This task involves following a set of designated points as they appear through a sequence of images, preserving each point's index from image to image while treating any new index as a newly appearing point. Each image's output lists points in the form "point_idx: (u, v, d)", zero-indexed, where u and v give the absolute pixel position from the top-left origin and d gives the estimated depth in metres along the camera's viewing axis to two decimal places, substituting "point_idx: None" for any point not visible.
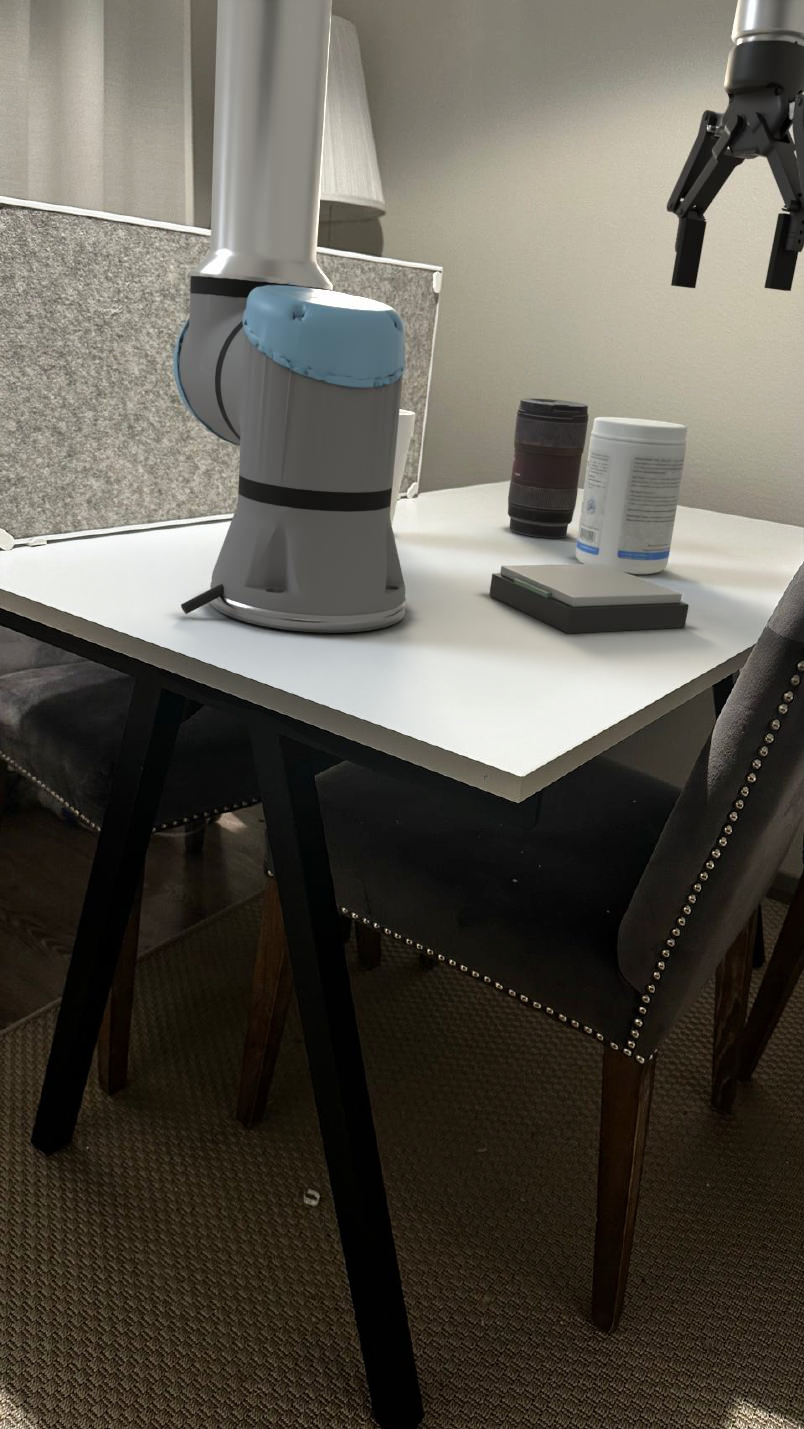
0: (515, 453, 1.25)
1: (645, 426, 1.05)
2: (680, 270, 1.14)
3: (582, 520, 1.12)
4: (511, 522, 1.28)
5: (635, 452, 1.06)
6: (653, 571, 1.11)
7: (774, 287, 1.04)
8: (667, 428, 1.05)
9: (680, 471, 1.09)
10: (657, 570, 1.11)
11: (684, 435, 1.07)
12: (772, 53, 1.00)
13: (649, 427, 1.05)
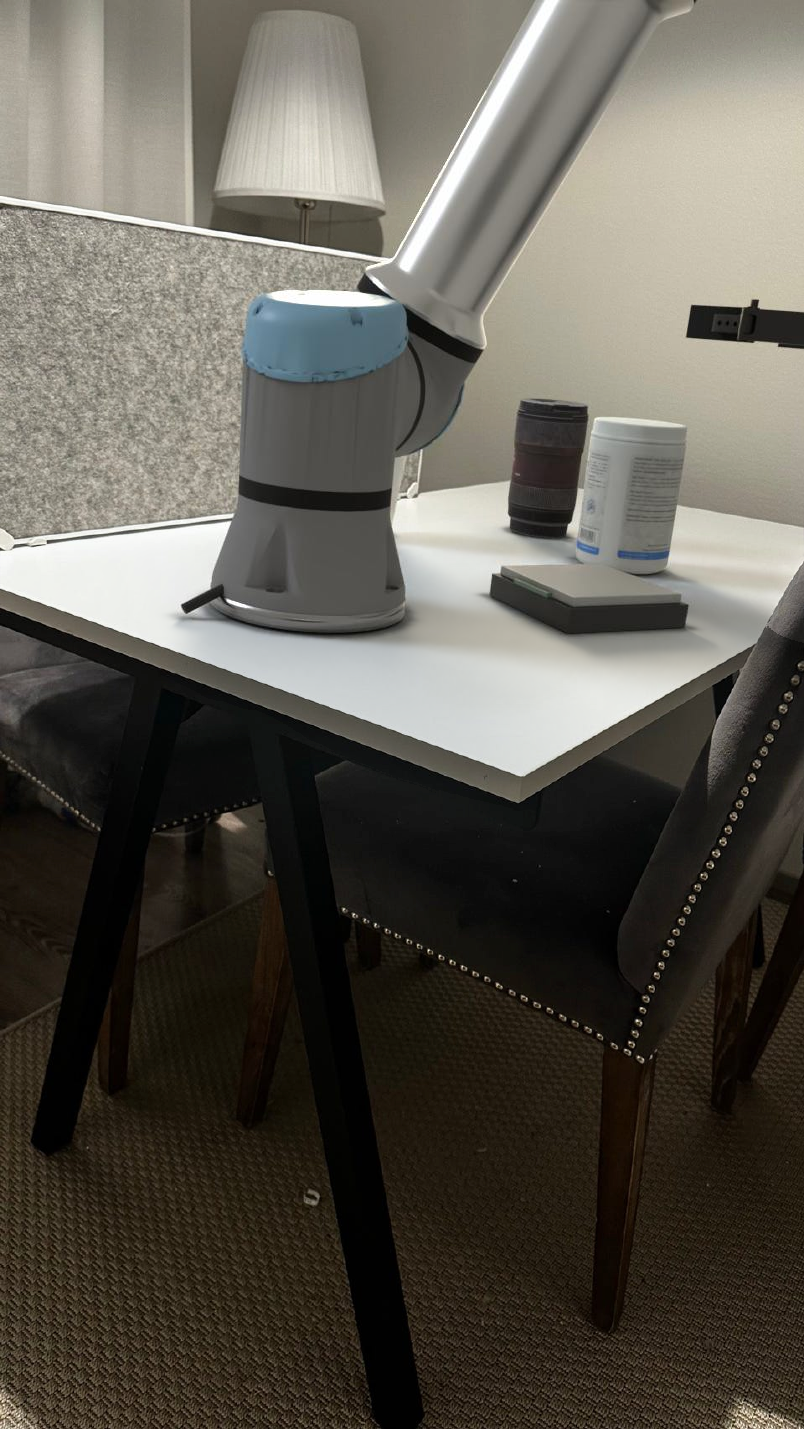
0: (515, 453, 1.25)
1: (645, 426, 1.05)
2: None
3: (582, 520, 1.12)
4: (511, 522, 1.28)
5: (635, 452, 1.06)
6: (653, 571, 1.11)
7: (691, 311, 0.94)
8: (667, 428, 1.05)
9: (680, 471, 1.09)
10: (657, 570, 1.11)
11: (684, 435, 1.07)
12: None
13: (649, 427, 1.05)
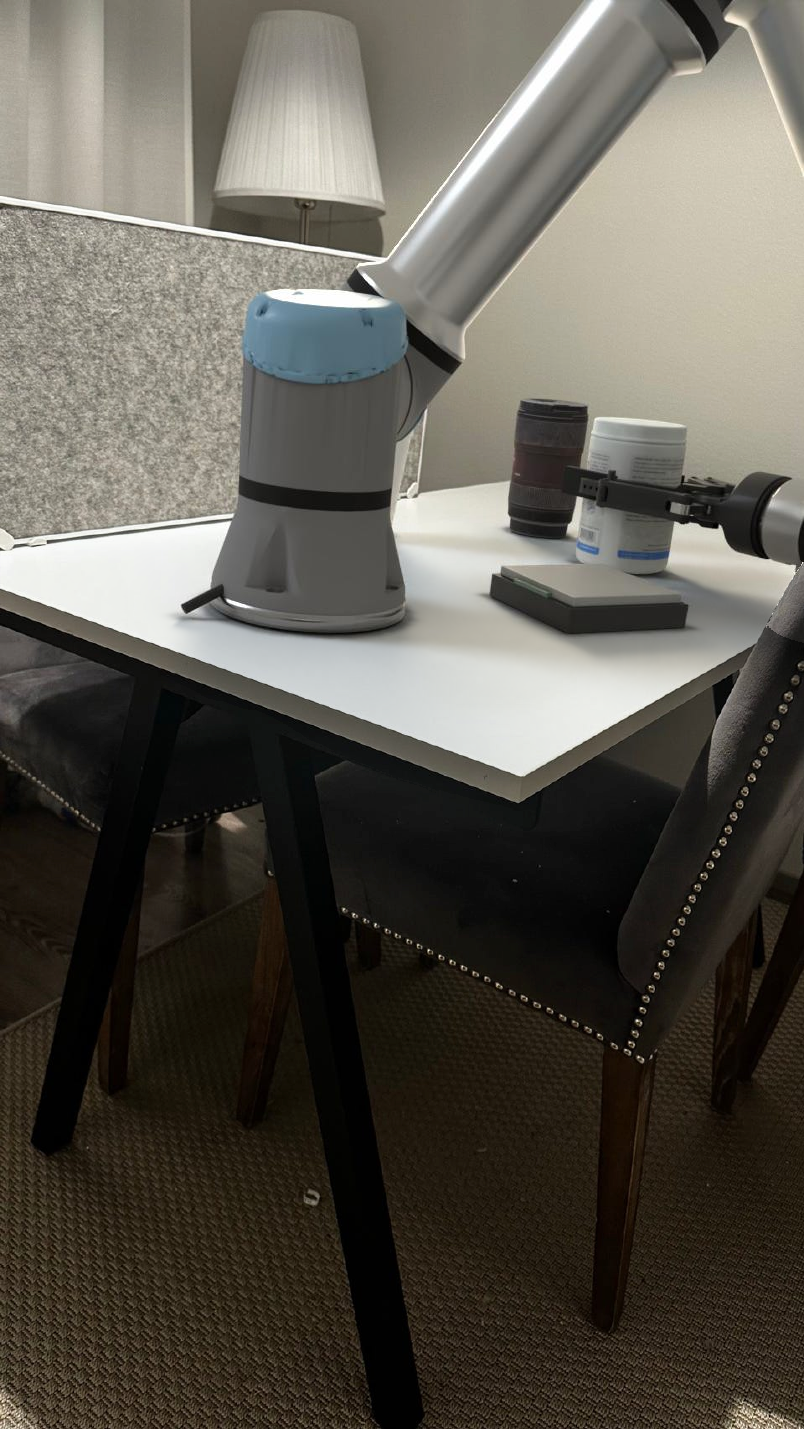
0: (515, 453, 1.25)
1: (645, 426, 1.05)
2: None
3: (582, 520, 1.12)
4: (511, 522, 1.28)
5: (636, 452, 1.06)
6: (653, 571, 1.11)
7: (565, 471, 1.11)
8: (667, 428, 1.05)
9: (680, 471, 1.09)
10: (657, 570, 1.11)
11: (684, 435, 1.07)
12: (755, 491, 0.97)
13: (649, 427, 1.05)
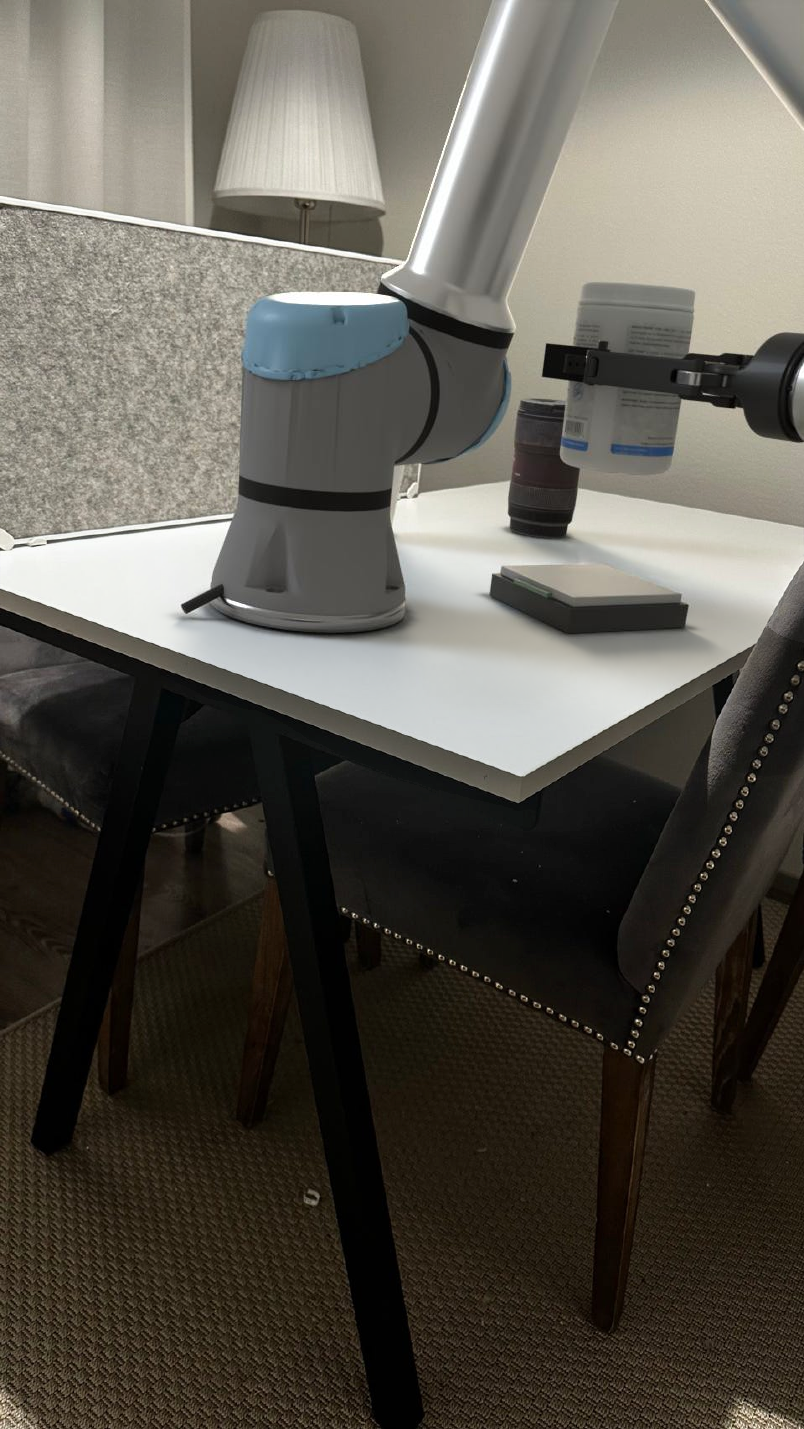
0: (515, 453, 1.25)
1: (644, 285, 0.85)
2: None
3: (567, 410, 0.92)
4: (511, 522, 1.28)
5: (632, 319, 0.86)
6: (654, 471, 0.91)
7: (546, 350, 0.91)
8: (671, 288, 0.85)
9: (687, 347, 0.89)
10: (659, 470, 0.91)
11: (692, 300, 0.88)
12: (784, 352, 0.77)
13: (649, 287, 0.85)
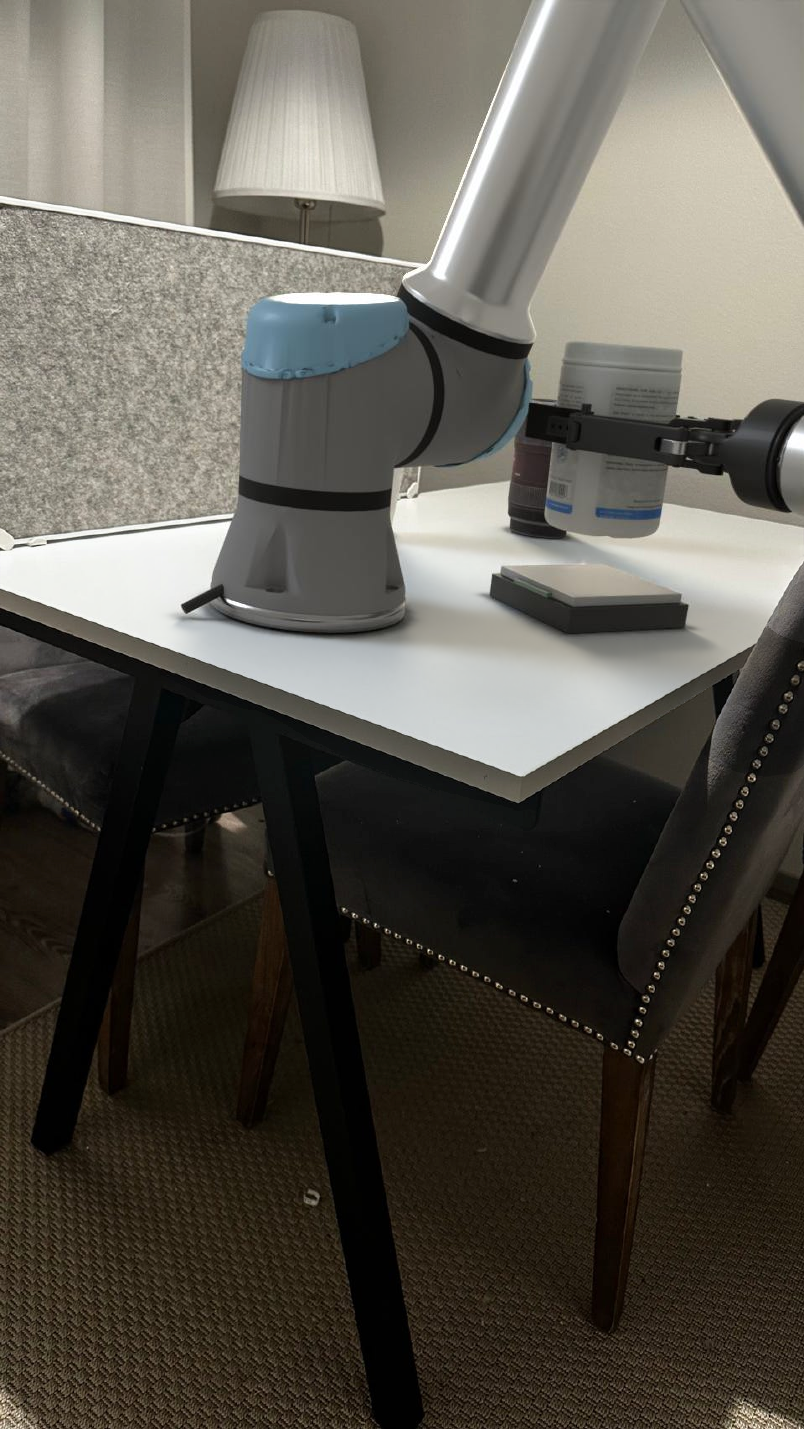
0: (515, 453, 1.25)
1: (629, 346, 0.82)
2: None
3: (551, 471, 0.89)
4: (511, 522, 1.28)
5: (617, 381, 0.83)
6: (641, 534, 0.88)
7: (529, 409, 0.88)
8: (657, 349, 0.83)
9: (674, 407, 0.86)
10: (646, 533, 0.88)
11: (679, 360, 0.85)
12: (771, 421, 0.74)
13: (634, 348, 0.82)
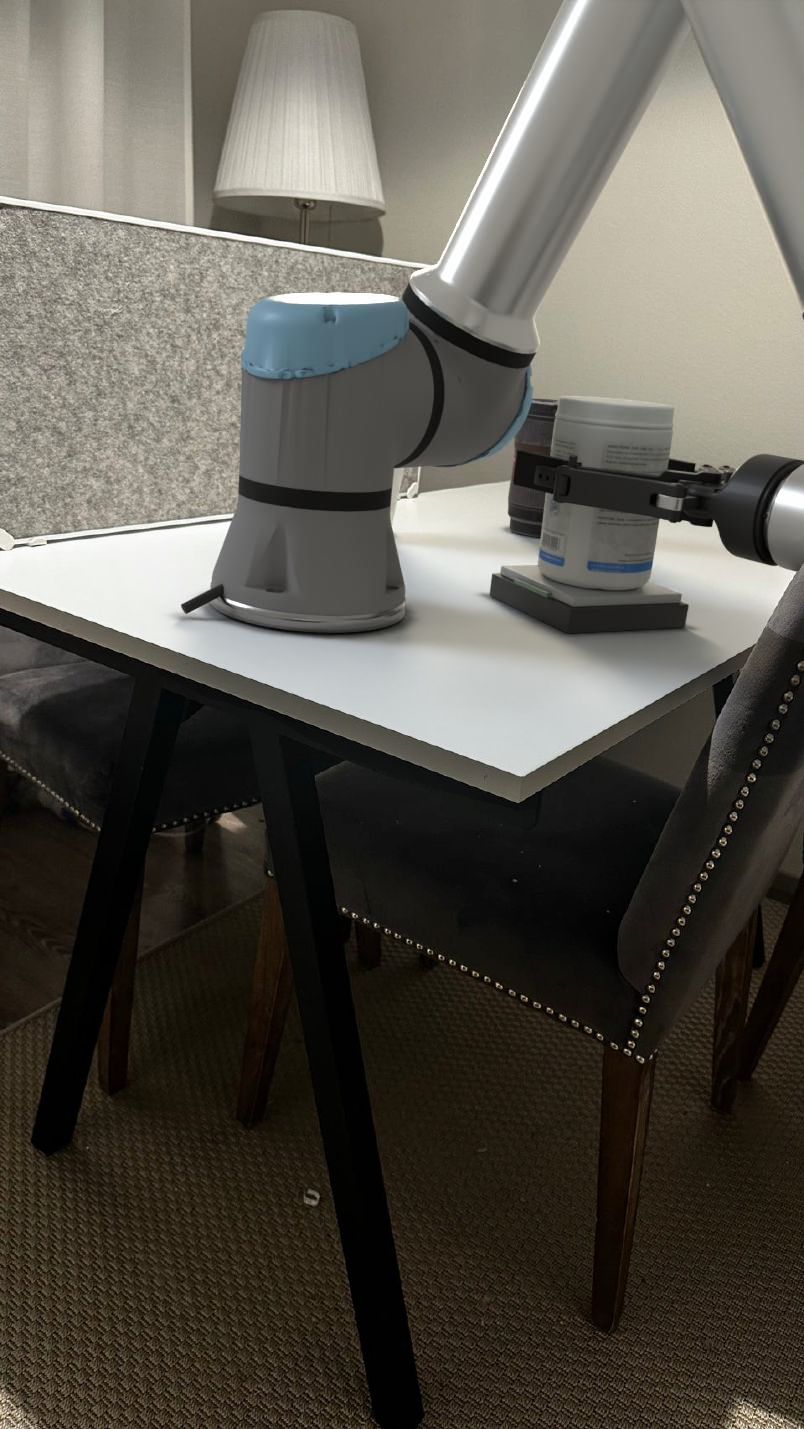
0: (515, 453, 1.25)
1: (620, 405, 0.84)
2: None
3: (544, 523, 0.90)
4: (511, 522, 1.28)
5: (609, 438, 0.84)
6: (632, 587, 0.89)
7: (517, 457, 0.88)
8: (648, 408, 0.84)
9: (665, 463, 0.87)
10: (637, 585, 0.89)
11: (670, 417, 0.86)
12: (759, 478, 0.75)
13: (626, 407, 0.84)
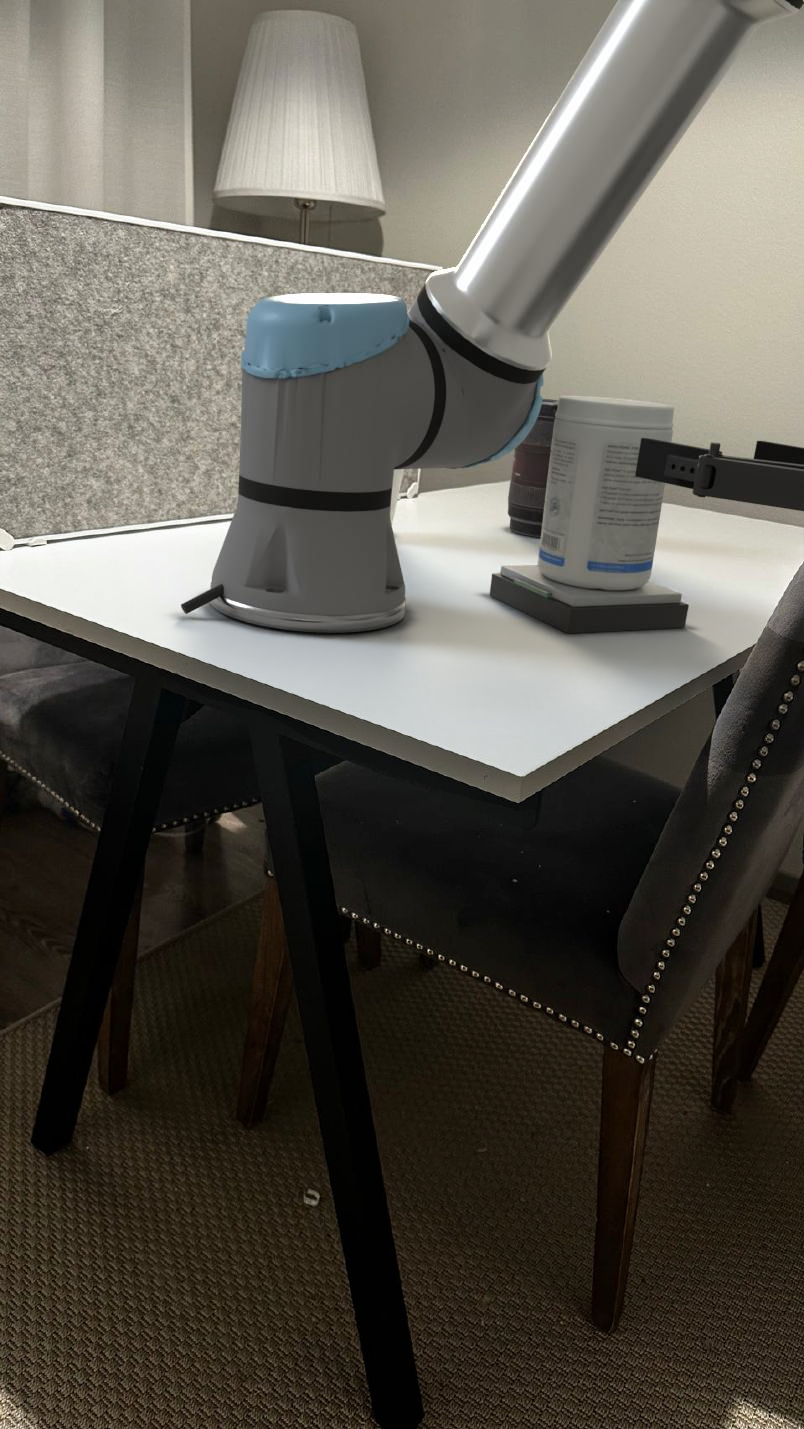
0: (515, 453, 1.25)
1: (620, 405, 0.84)
2: (772, 448, 0.85)
3: (544, 523, 0.90)
4: (511, 522, 1.28)
5: (609, 438, 0.84)
6: (632, 587, 0.89)
7: (641, 446, 0.78)
8: (648, 408, 0.84)
9: None
10: (637, 585, 0.89)
11: (670, 417, 0.86)
12: None
13: (625, 407, 0.84)
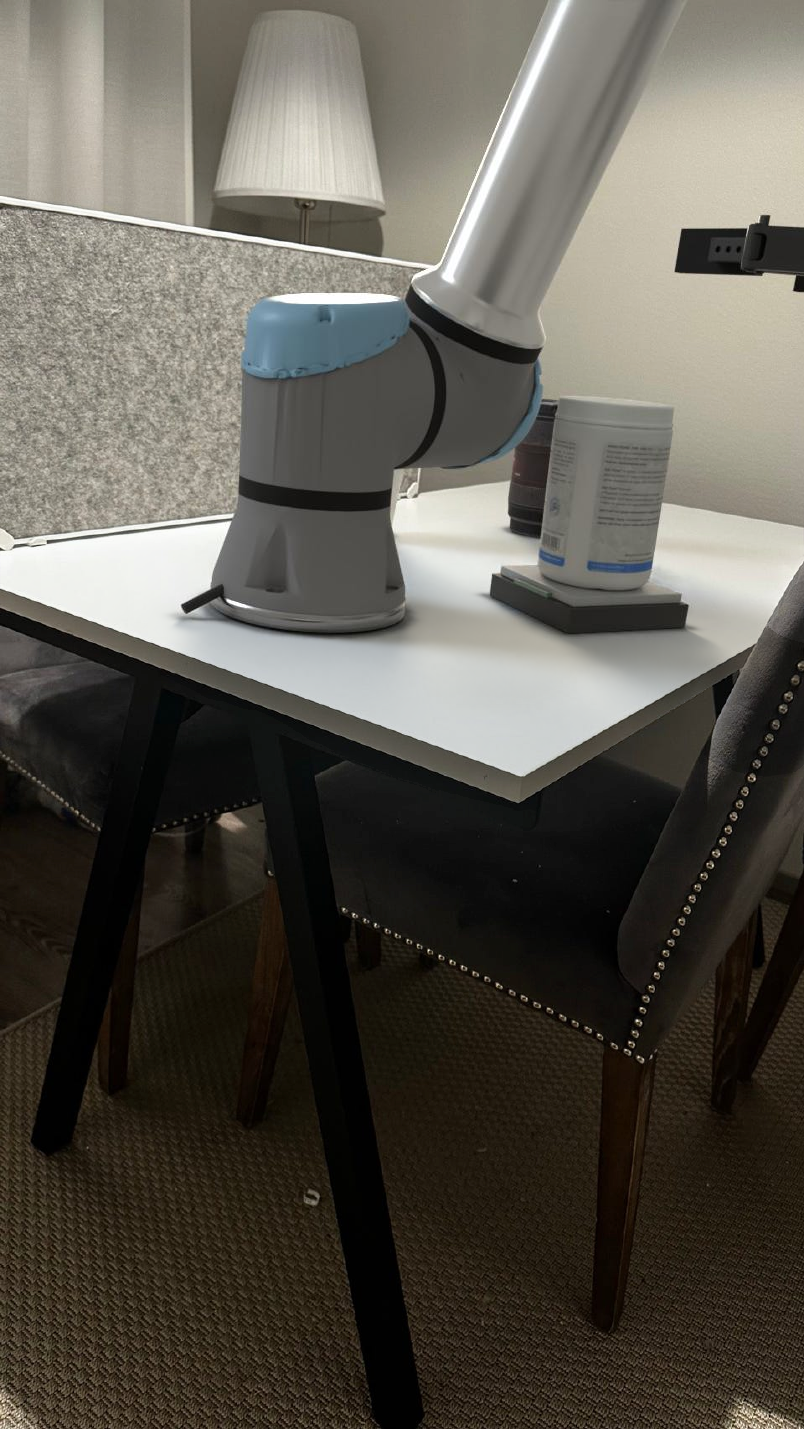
0: (515, 453, 1.25)
1: (620, 405, 0.84)
2: None
3: (544, 523, 0.90)
4: (511, 522, 1.28)
5: (609, 438, 0.84)
6: (632, 587, 0.89)
7: (681, 237, 0.73)
8: (648, 408, 0.84)
9: (665, 463, 0.87)
10: (637, 585, 0.89)
11: (670, 417, 0.86)
12: None
13: (625, 407, 0.84)
